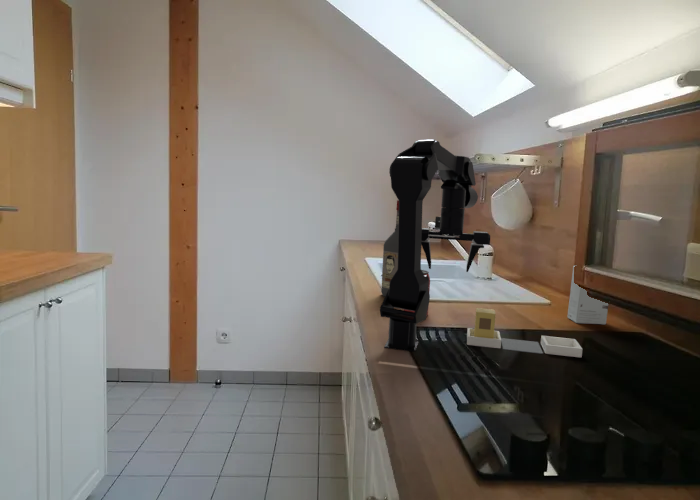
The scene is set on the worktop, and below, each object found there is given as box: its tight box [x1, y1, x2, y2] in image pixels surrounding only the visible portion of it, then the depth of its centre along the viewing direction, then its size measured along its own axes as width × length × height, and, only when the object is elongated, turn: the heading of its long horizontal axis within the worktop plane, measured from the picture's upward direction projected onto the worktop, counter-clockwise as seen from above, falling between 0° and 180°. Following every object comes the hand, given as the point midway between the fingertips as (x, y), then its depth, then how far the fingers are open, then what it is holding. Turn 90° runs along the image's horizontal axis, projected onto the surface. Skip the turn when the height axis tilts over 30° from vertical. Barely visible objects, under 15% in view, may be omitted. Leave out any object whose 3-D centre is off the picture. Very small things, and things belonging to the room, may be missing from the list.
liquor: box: [380, 199, 399, 297], centre depth 151 cm, size 9×9×30 cm
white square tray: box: [540, 335, 583, 358], centre depth 103 cm, size 7×7×2 cm
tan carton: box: [474, 307, 496, 339], centre depth 107 cm, size 4×4×7 cm
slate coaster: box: [501, 337, 544, 355], centre depth 105 cm, size 8×8×1 cm
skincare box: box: [567, 265, 609, 325], centre depth 130 cm, size 8×6×15 cm
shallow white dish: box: [466, 327, 502, 349], centre depth 107 cm, size 7×7×2 cm
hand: (448, 270), depth 122 cm, fingers open, 9 cm apart
